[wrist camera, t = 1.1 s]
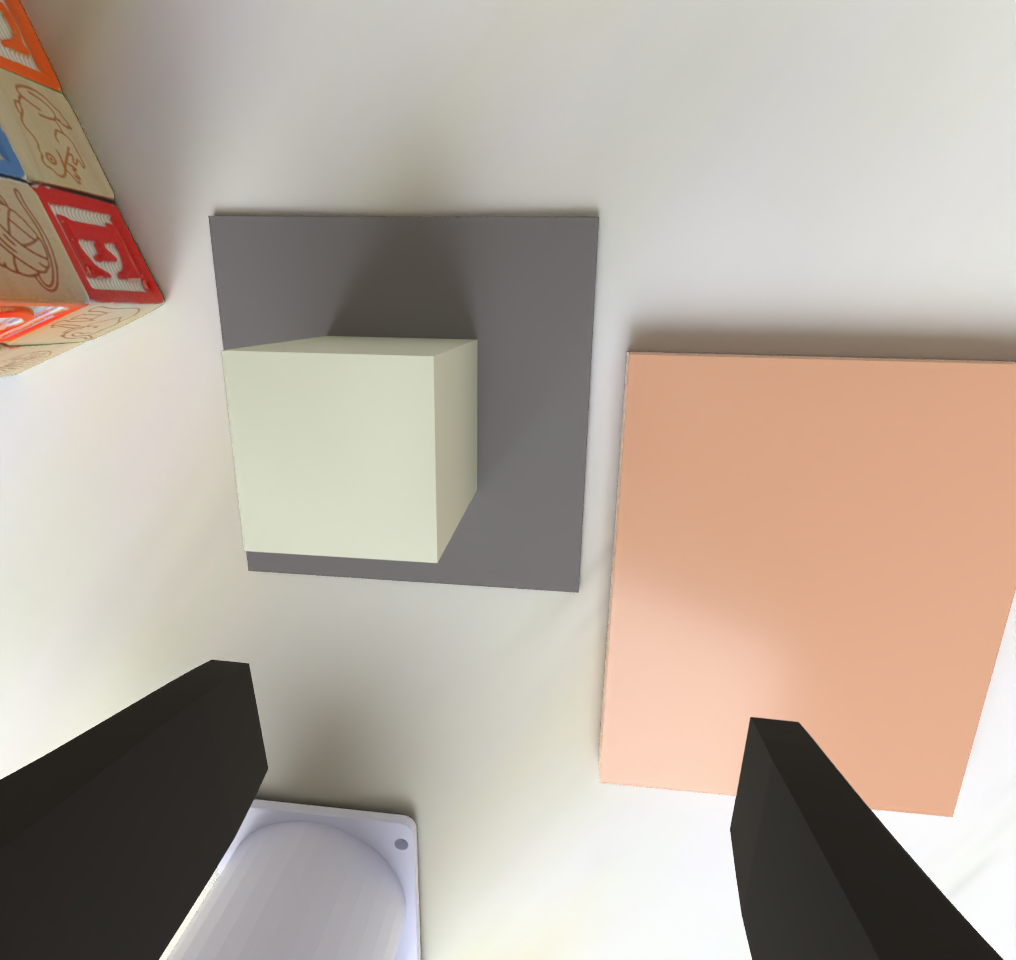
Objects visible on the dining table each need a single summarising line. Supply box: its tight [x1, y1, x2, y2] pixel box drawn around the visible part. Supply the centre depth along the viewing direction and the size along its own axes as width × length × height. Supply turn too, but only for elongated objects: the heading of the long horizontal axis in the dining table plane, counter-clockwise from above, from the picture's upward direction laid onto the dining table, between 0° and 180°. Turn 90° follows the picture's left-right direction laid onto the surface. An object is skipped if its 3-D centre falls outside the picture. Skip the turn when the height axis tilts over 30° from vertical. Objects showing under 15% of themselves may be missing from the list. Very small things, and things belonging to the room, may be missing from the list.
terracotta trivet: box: [598, 352, 1016, 817], centre depth 18 cm, size 14×11×1 cm
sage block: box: [221, 336, 478, 563], centre depth 16 cm, size 4×4×6 cm
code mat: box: [209, 216, 599, 592], centre depth 18 cm, size 11×11×1 cm
